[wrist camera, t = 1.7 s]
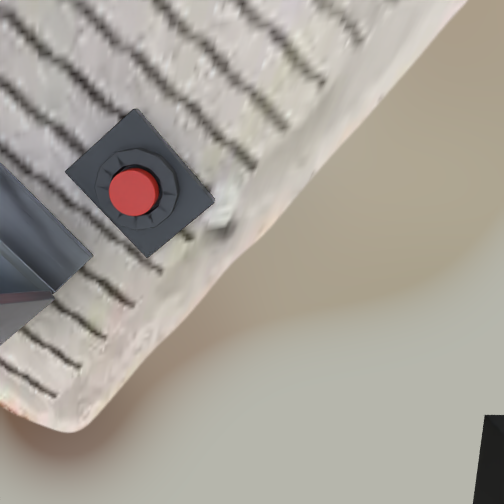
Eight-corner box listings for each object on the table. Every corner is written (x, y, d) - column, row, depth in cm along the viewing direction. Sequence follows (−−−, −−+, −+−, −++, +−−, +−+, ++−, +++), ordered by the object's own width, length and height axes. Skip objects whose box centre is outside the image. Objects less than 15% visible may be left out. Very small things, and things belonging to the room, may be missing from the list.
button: (105, 187, 34) (98, 190, 32) (137, 158, 33) (132, 160, 32) (136, 220, 35) (131, 225, 33) (168, 193, 34) (164, 196, 33)
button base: (71, 169, 36) (55, 174, 33) (138, 109, 35) (128, 107, 32) (150, 253, 39) (142, 265, 36) (215, 199, 38) (213, 206, 34)
